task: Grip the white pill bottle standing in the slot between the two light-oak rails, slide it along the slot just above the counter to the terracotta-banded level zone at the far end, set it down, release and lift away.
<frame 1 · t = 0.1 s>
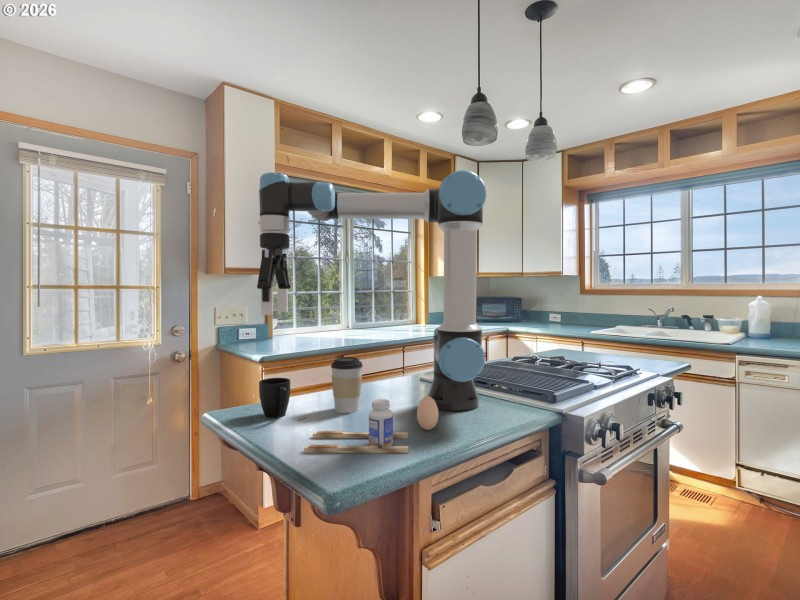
hand: (275, 313, 114), 28 cm above the countertop, fingers open, 13 cm apart
pill bottle: (380, 445, 95), on the countertop
mug: (277, 417, 115), on the countertop
beam track: (358, 444, 95), on the countertop
coffee cup: (347, 410, 122), on the countertop
egg: (427, 430, 105), on the countertop
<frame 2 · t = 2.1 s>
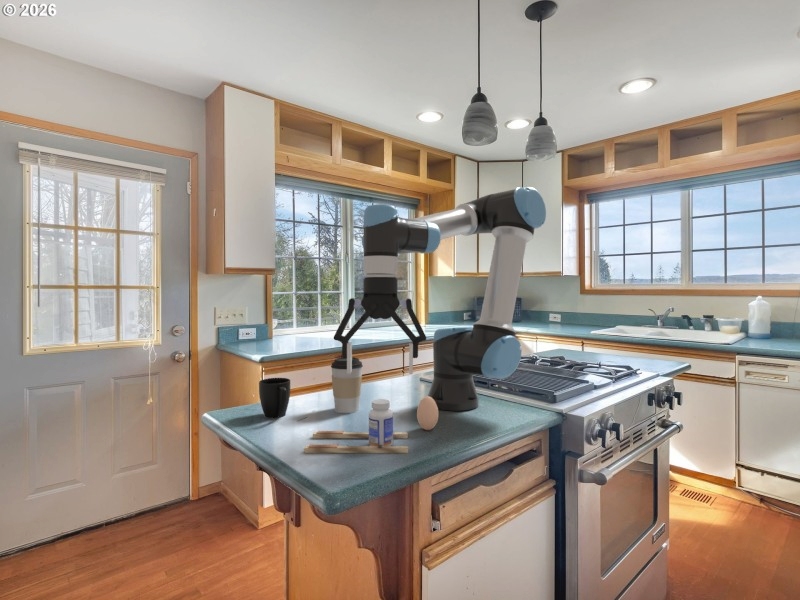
hand: (380, 372, 95), 16 cm above the countertop, fingers open, 13 cm apart
nothing on the countertop moved.
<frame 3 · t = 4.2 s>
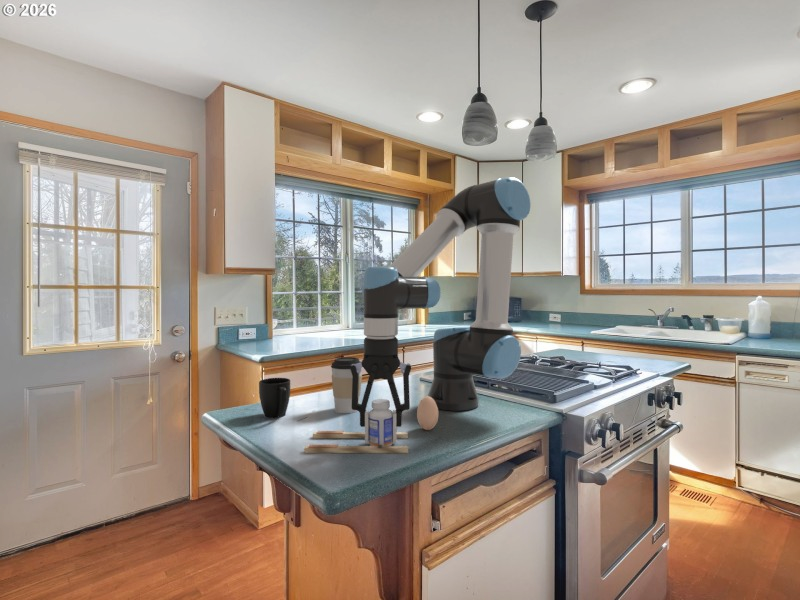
hand: (380, 440, 95), 1 cm above the countertop, fingers closed on pill bottle, 5 cm apart
pill bottle: (380, 445, 95), on the countertop, touching gripper
everything else where it was.
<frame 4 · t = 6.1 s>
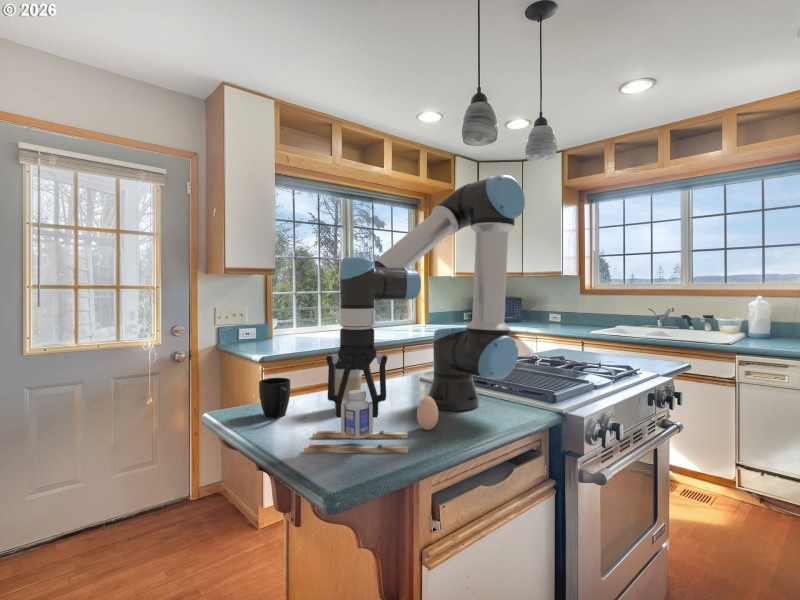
hand: (357, 431, 95), 3 cm above the countertop, fingers closed on pill bottle, 5 cm apart
pill bottle: (357, 436, 95), point 2 cm above the countertop, touching gripper
everything else where it was.
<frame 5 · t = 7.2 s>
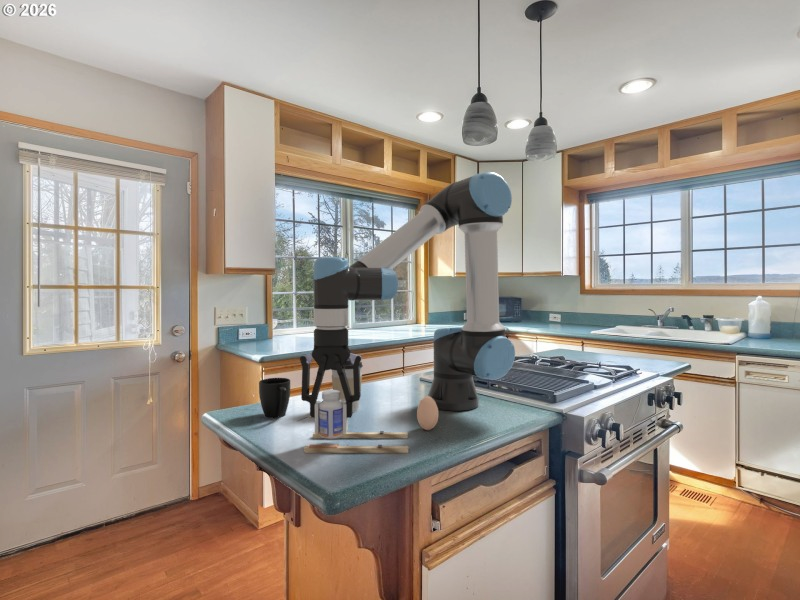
hand: (331, 431, 95), 3 cm above the countertop, fingers closed on pill bottle, 5 cm apart
pill bottle: (331, 436, 95), point 2 cm above the countertop, touching gripper
everything else where it was.
when the fingers open (1 cm above the countertop, at t = 8.3 s): pill bottle stays where it is, on the countertop.
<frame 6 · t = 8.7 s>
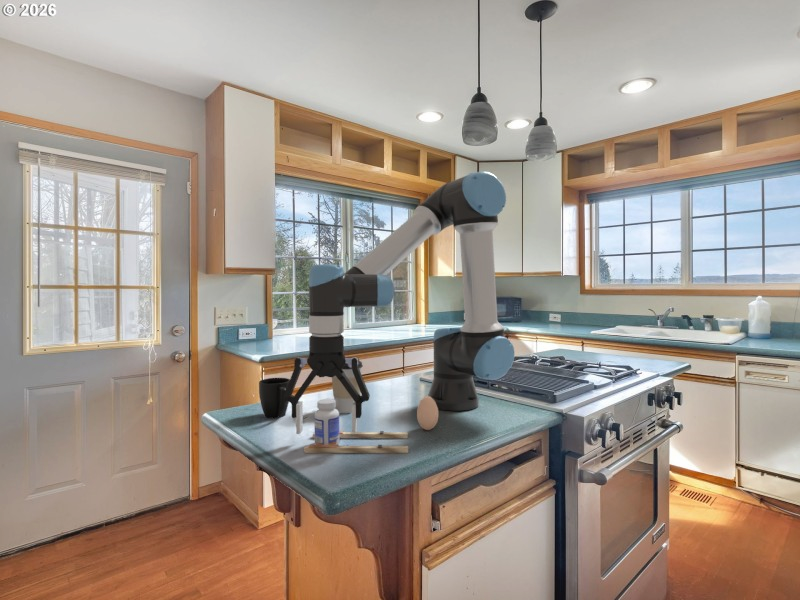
hand: (327, 432, 95), 3 cm above the countertop, fingers open, 11 cm apart
pill bottle: (327, 445, 95), on the countertop
everything else where it was.
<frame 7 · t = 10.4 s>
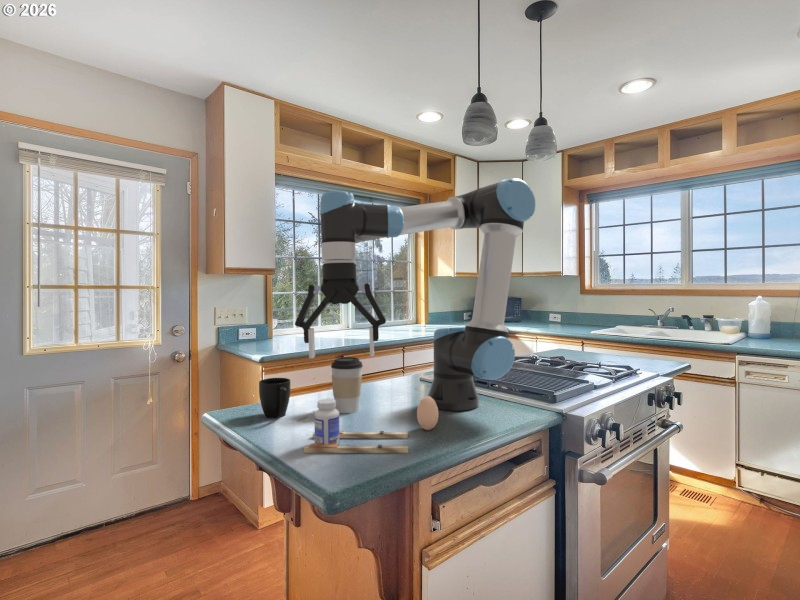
hand: (342, 356, 97), 19 cm above the countertop, fingers open, 13 cm apart
nothing on the countertop moved.
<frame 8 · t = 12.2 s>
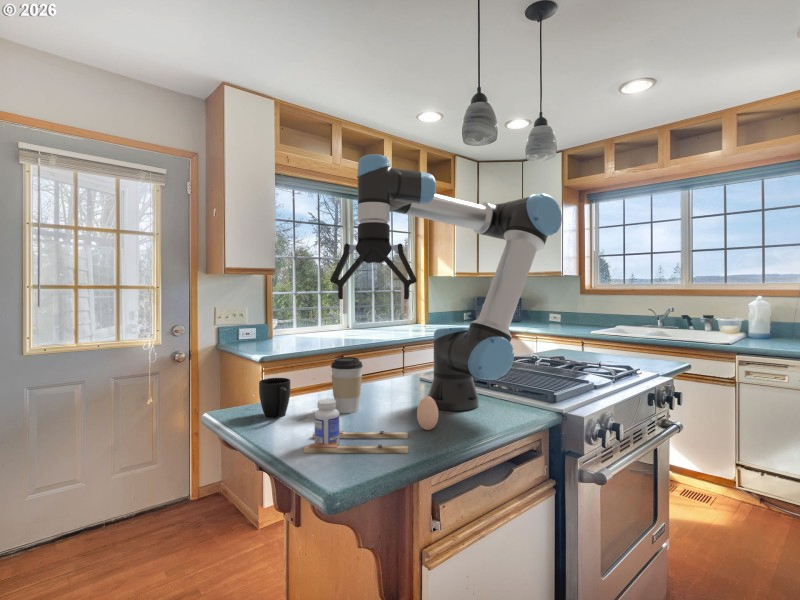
hand: (373, 313, 101), 29 cm above the countertop, fingers open, 13 cm apart
nothing on the countertop moved.
at the end: pill bottle inside the target area (0.2 cm from its centre), on the countertop; pill bottle tilted 0°; pill bottle moved 12.0 cm from its start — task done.
